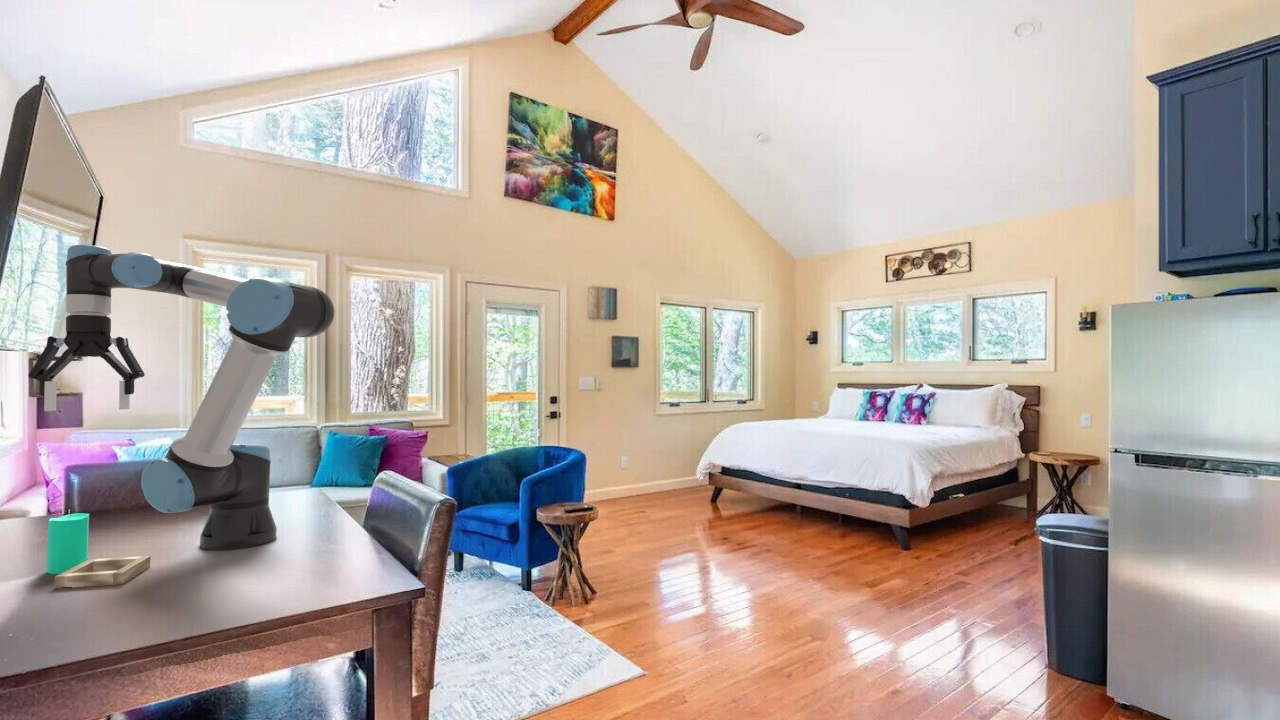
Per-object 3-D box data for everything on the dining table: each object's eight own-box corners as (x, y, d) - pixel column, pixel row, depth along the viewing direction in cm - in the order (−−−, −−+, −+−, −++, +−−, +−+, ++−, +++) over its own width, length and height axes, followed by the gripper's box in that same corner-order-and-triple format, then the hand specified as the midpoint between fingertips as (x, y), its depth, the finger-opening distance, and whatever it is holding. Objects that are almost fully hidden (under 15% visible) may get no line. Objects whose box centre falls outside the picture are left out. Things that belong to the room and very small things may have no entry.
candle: (85, 562, 127) (87, 504, 127) (89, 568, 123) (91, 509, 123) (45, 569, 123) (47, 509, 123) (48, 576, 119) (50, 514, 119)
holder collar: (150, 566, 125) (150, 555, 125) (122, 584, 115) (122, 572, 115) (88, 570, 122) (88, 559, 122) (54, 588, 112) (54, 576, 112)
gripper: (162, 317, 144) (161, 407, 143) (31, 316, 137) (29, 410, 136) (146, 314, 137) (145, 409, 136) (7, 312, 130) (5, 412, 129)
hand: (87, 410), depth 136 cm, fingers open, 13 cm apart
